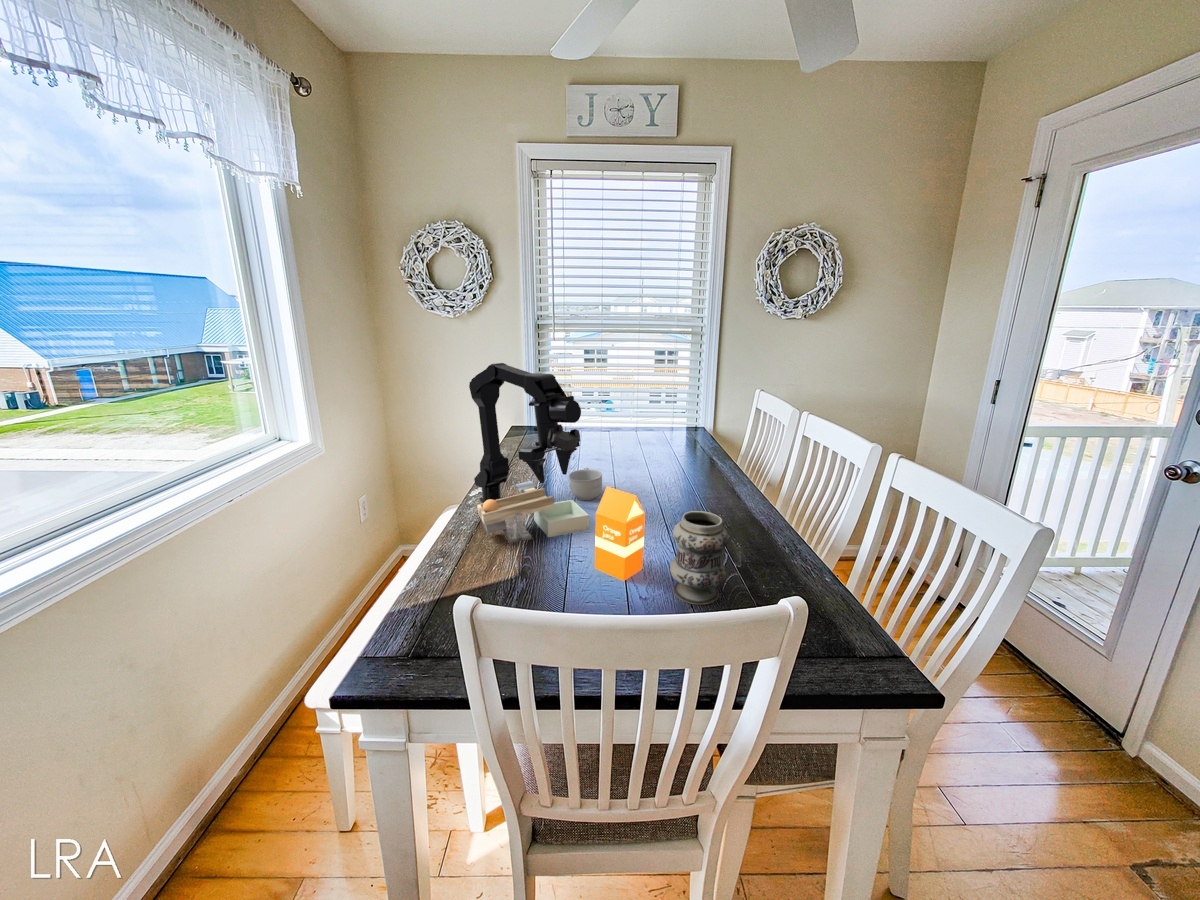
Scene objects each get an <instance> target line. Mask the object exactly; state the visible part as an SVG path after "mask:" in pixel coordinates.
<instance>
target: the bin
mask: <svg viewBox="0 0 1200 900" xmlns="http://www.w3.org/2000/svg"><path fill="white" fill-rule="evenodd" d="M553 504H554V507H552V508H548V509H545V510H541V511H537V512H533V521H534V522H535V523H536V525H537V526H538V527H539V528H540V529H541V530H542V532H543V533H544V534H545V535H546V537H547V538H553V537H557V535H558V536H562V535H563V534H564V535H568V533H569V534H573V533H574V534H575V533H579V532H585V531H589V528H590V527H589V525H590V521H589V519H590V518H589V517H590V514H588V513H587V512H586V511H585V510H584V509H583V508H582V507H581V506H580V505H579V504H577V503H576V502H575V501H574V500H573V499H569V500H568V499H567V500H562V501H561V500H560V501H555V502H553ZM552 536H553V537H552Z"/></svg>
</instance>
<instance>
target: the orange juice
mask: <svg viewBox="0 0 1200 900" xmlns="http://www.w3.org/2000/svg"><path fill="white" fill-rule="evenodd" d="M645 523H646V513H645V511H644V509H643V507H642V505H641V503H640V501H639V499H638V497H637V495H635V494H632V493H631V492H626V491H622V490H620V489H617V488H614V487H610V486H606V487H605V490H604V492H603V494H602V497H601V499H600V502H599V505H598V506H597V509H596V512H595V539H594V542H595V543H594V548H595V549H594V553H595V554H594V569H595V570H598V571H600V572H602V573H604V574H606V575H609V576H611V577H613V578H616V579H618V580H620V581H623V582H625V581H626V580H628V579H629V578H630V577H633V576H634V575H635V574H637V573H638V572H640V571H641V570H643V562H644V560H643V559H644V546H645V526H646V525H645Z"/></svg>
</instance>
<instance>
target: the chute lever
mask: <svg viewBox="0 0 1200 900" xmlns="http://www.w3.org/2000/svg"><path fill="white" fill-rule="evenodd" d="M515 488H516V489H517V490H518V492H519V493H517V494H514V495H510V496H505V497H501V499H497V500H495V501H496V502H497V504H498V510H495V511H491V512H487V513H485V511H484V510H483V504H484V503H478V504H476V507H477V508H476V509H477V513H478V514H477V515H478V516H479V518H480V519H481V523H482V526H483V528H484V530H485V532H486V534H487V535H489V534H493V533H497V532H500V531H501V530H505V529H506V523H507V519H511V518H513V519H514V518H515V519H516V514H519V513H522V514H523V516H525V515H530V514H534V512H537V511H541V510H545V509H548V508H552V507H554V504H553V503H554V497H553V496H552V495H550V496H547V495H546V489H545V488H544V487H541V488H538V486H537V484H536V483H535V482H533V480H528V481H524V482H519V483H516V484H515ZM501 532H502V531H501Z"/></svg>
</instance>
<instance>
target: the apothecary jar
mask: <svg viewBox="0 0 1200 900" xmlns="http://www.w3.org/2000/svg"><path fill="white" fill-rule="evenodd" d="M672 536H673V539H674V540H675V542H676V543H677V550H676V556H675V557H674V558H673V559H672V560H671V562H670V564H669V572H670V574H671V576H672V577H673V579H674V580H675V581H677V583H676V584H675V586H674V587H673V593H674V594H675V596H676V597H677V599H679V600H680V601H681V602H684V603H687V604H691V605H695V606H697V605H698V606H705V605H710V604H712V603H715V602H716V601H717V600H718V598H719V596H720V593H719V590H718V588H717V587H718V586H719V585H721V584H722V583H723V582H724V581H725V579H726V575H727V569H726V567H725V565H724V563H723V561H722V553H723V549H724V548H725V547H726V546H727V545H728V543H729V541H730V535H729V532H728V530H727V529H726V528H725V527H724V525H723V519H722V518H721V517H720V515H717V514H715V513H712V512H709V511H704V510H703V511H702V510H691V511H687V512H684V513H683V515H682V517H681V520H680V522H678V523H677V524H676V525H675V526H674V528H673V531H672Z"/></svg>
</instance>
